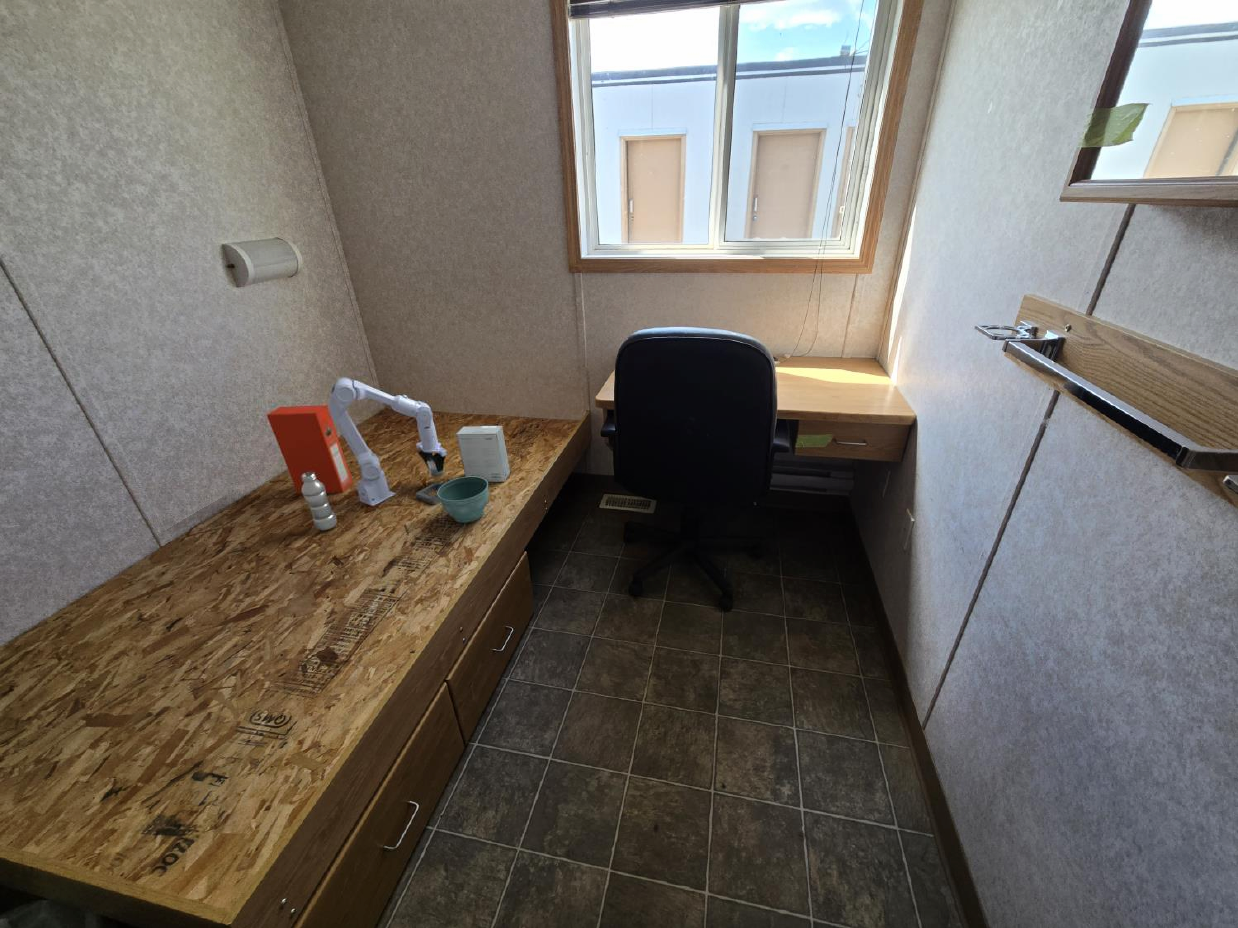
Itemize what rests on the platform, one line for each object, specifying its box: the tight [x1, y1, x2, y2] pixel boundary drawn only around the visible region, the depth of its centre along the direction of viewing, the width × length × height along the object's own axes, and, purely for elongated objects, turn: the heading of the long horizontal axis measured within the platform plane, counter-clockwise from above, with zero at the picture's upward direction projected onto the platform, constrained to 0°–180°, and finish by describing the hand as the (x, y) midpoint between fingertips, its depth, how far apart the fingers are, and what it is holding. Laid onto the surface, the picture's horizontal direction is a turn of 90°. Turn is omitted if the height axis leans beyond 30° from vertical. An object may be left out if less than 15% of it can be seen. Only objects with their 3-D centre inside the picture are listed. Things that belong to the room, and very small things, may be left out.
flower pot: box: [437, 476, 489, 524], centre depth 167 cm, size 16×16×11 cm
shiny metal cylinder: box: [427, 458, 445, 478], centre depth 188 cm, size 5×5×6 cm
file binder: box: [266, 404, 354, 495], centre depth 183 cm, size 8×17×32 cm, turn 89°
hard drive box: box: [455, 425, 511, 483], centre depth 188 cm, size 16×8×20 cm, turn 84°
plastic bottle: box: [302, 472, 338, 531], centre depth 162 cm, size 6×7×20 cm
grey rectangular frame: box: [414, 481, 445, 506], centre depth 182 cm, size 10×10×2 cm
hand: (435, 469), depth 188 cm, fingers closed on shiny metal cylinder, 5 cm apart
